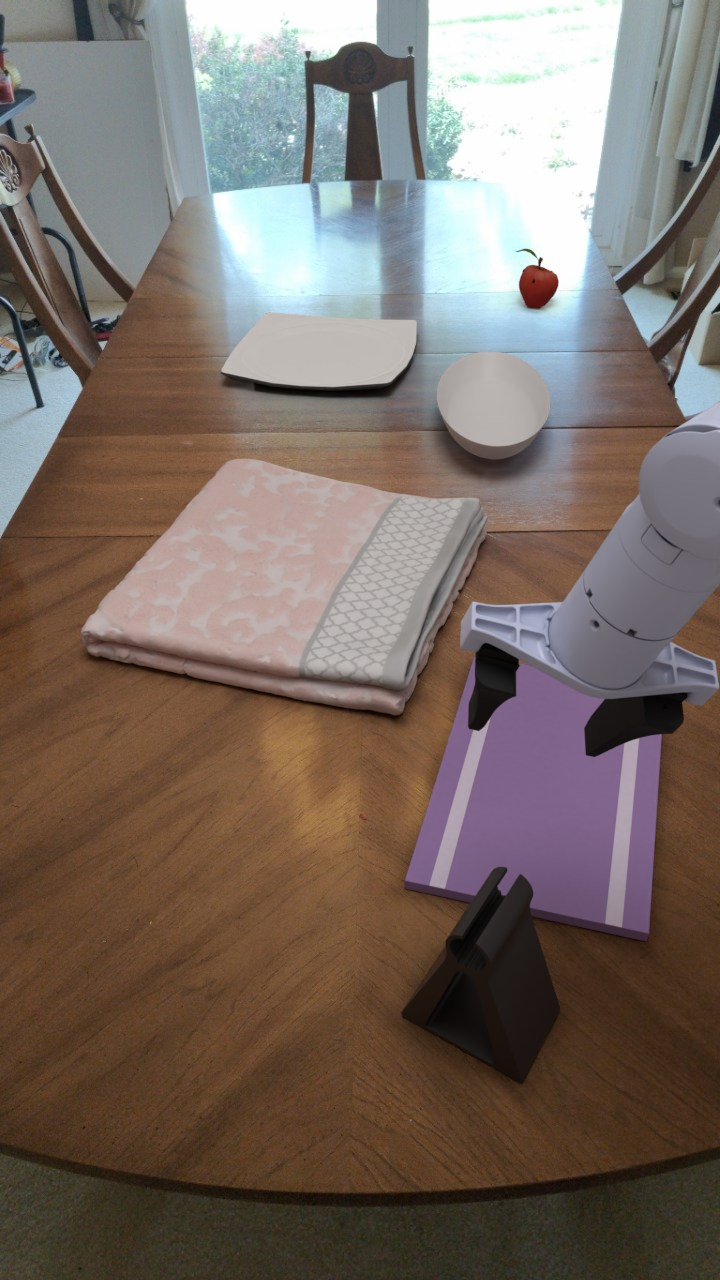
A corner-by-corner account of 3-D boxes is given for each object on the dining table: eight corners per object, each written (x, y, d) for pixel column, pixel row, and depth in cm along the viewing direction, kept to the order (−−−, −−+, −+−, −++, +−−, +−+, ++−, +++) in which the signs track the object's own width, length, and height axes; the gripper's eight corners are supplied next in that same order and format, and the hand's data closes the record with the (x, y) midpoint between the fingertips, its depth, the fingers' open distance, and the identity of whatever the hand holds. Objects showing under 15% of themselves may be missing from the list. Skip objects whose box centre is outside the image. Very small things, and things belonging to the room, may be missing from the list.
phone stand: (560, 1012, 67) (581, 902, 59) (521, 1085, 63) (539, 976, 55) (444, 951, 70) (450, 840, 63) (400, 1015, 67) (402, 905, 59)
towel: (406, 730, 89) (406, 681, 85) (77, 659, 98) (65, 613, 94) (491, 531, 115) (494, 488, 112) (227, 489, 124) (222, 448, 121)
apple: (549, 298, 178) (555, 241, 171) (560, 312, 172) (566, 253, 166) (508, 301, 177) (512, 244, 171) (517, 314, 172) (522, 255, 165)
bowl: (436, 390, 147) (438, 350, 143) (537, 391, 146) (541, 351, 142) (433, 488, 124) (435, 444, 120) (554, 491, 122) (559, 447, 119)
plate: (262, 324, 170) (261, 309, 168) (425, 333, 165) (426, 317, 164) (210, 391, 148) (208, 375, 146) (397, 404, 143) (397, 387, 142)
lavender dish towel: (646, 942, 71) (649, 933, 70) (404, 888, 75) (404, 880, 74) (663, 694, 92) (665, 686, 91) (473, 663, 96) (474, 655, 95)
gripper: (751, 571, 54) (635, 701, 64) (501, 506, 52) (424, 652, 62) (772, 675, 49) (644, 796, 60) (501, 608, 47) (417, 746, 58)
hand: (532, 729), depth 61 cm, fingers open, 7 cm apart
